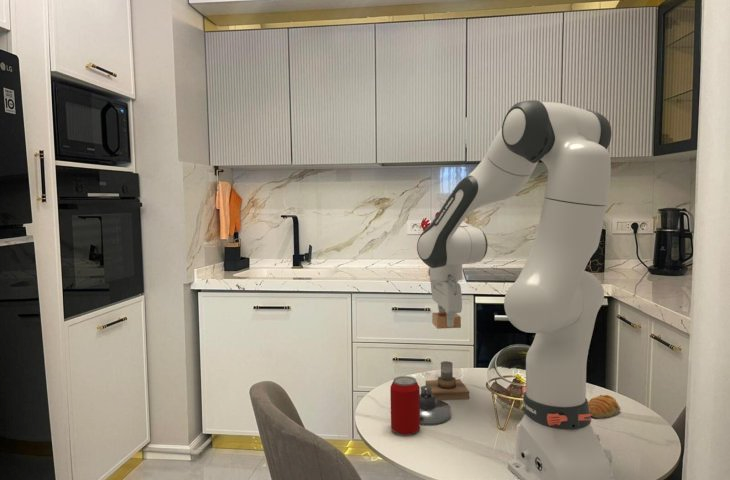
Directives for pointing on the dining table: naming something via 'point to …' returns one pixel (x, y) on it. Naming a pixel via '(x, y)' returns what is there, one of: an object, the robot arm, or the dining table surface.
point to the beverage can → (405, 405)
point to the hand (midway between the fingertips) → (446, 322)
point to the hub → (432, 408)
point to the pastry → (603, 406)
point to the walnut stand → (448, 385)
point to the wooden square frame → (441, 317)
